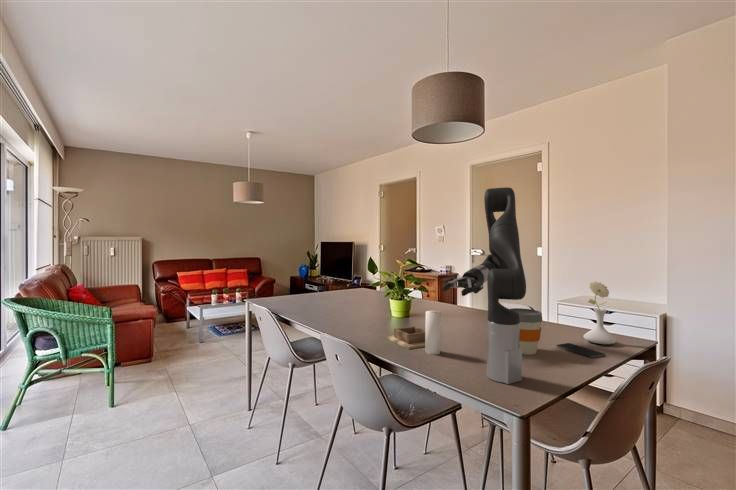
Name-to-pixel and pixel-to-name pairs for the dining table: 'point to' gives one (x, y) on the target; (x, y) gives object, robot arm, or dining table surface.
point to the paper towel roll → (433, 332)
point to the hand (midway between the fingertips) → (452, 291)
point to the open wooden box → (409, 337)
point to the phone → (580, 350)
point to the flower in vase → (599, 317)
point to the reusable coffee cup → (529, 330)
